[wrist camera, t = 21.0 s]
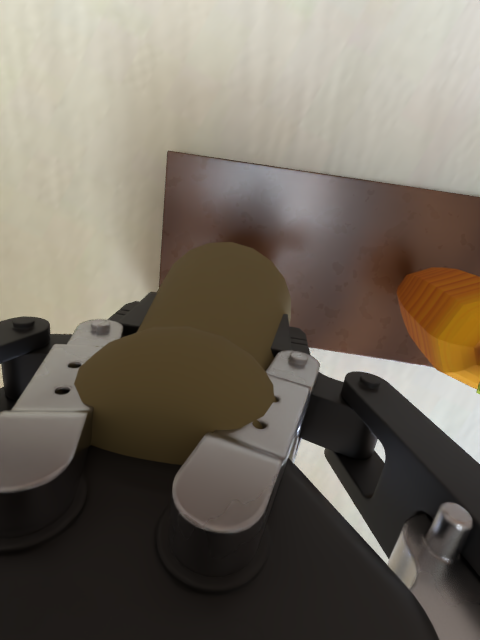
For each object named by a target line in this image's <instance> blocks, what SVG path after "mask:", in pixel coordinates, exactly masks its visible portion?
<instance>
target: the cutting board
mask: <svg viewBox="0 0 480 640" xmlns="http://www.w3.org/2000/svg"><path fill="white" fill-rule="evenodd" d="M217 242H233V243H237V244H240V245H243V246H247V247H250V248H253V249H255V250H256V251H258V252H259V253H261V254H262V255H263V256H265V257H266V258H268V259H269V260H271V261H272V262H273V264H274V265H275V266H276V268H277V269H278V270H279V272H280V273H281V274H282V276H283V277H284V278H285V281H286V284H287V287H288V290H289V293H290V296H291V320H290V324H289V326H290V327H296V328H300V329H301V330H302V331H303V332H304V333H305V334H306V338H307V342H308V347H310V348H317V349H323V350H329V351H335V352H341V353H348V354H354V355H360V356H366V357H372V358H379V359H385V360H391V361H397V362H403V363H409V364H416V365H422V366H428V367H433V365H432V364H431V363H430V362H429V360H428V359H427V358H426V357H425V355H424V354H423V353H422V352H421V350H420V349H419V348H418V346H417V345H416V344H415V342H414V341H413V339H412V338H411V337H410V335H409V333H408V331H407V328H406V326H405V324H404V321H403V318H402V315H401V311H400V306H399V302H398V297H397V288H398V286H399V285H400V283H401V282H402V280H403V279H404V278H405V276H406V275H408V274H411V273H414V272H418V271H421V270H425V269H428V268H431V267H437V268H451V269H458V270H461V271H464V272H467V273H470V274H473V275H476V276H479V277H480V197H476V196H469V195H463V194H456V193H449V192H442V191H436V190H429V189H422V188H416V187H409V186H402V185H395V184H389V183H382V182H375V181H368V180H362V179H355V178H348V177H342V176H335V175H328V174H321V173H315V172H308V171H301V170H294V169H288V168H281V167H274V166H267V165H261V164H254V163H247V162H241V161H234V160H227V159H220V158H214V157H207V156H200V155H193V154H187V153H180V152H173V151H168V152H167V165H166V181H165V197H164V214H163V230H162V246H161V262H160V278H159V288H160V286H161V284H162V282H163V280H164V278H165V277H166V275H167V273H168V272H169V270H170V269H171V267H172V265H173V264H174V263H175V262H176V261H177V260H178V259H179V258H181V257H182V256H183V255H184V254H186V253H187V252H188V251H189V250H191V249H194V248H197V247H200V246H202V245H205V244H208V243H217Z"/></svg>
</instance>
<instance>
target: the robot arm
mask: <svg viewBox="0 0 480 640" xmlns="http://www.w3.org/2000/svg"><path fill="white" fill-rule="evenodd" d="M156 294H157V293H155V292H150V293H149V294H148V295H147V296H146V297H145V298H143V299H142V300H141V301H140V302H138V301H135V302H132V303H128V304H126V305H124V306H123V307H122V308H121V309H120V310H118V311H117V312H116V313H115V314H113V315H112V316H111V317H110V318H109V319H107V320H104V319H97V320H89V321H85V322H82V323H80V324H79V325H78V326H77V328H76V329H75V331H74V333H73V334H50V324H49V322H48V321H47V320H45V319H42V318H37V317H17V318H11V319H8V320H4V321H1V322H0V364H2V373H3V383H4V387H2V388H0V640H480V464H479V463H478V462H477V461H475V460H474V459H473V458H472V457H471V456H470V455H469V454H468V453H466V452H465V451H464V450H463V449H462V448H461V447H460V446H459V445H458V444H456V443H455V442H454V441H453V440H452V439H451V438H450V437H449V436H447V435H446V434H445V433H444V432H443V431H442V430H441V429H440V428H438V427H437V426H436V425H435V424H434V423H433V422H432V421H431V420H430V419H428V418H427V417H426V416H425V415H424V414H423V413H422V412H421V411H419V410H418V409H417V408H416V407H415V406H414V405H413V404H412V403H410V402H409V401H408V400H407V399H406V398H405V397H404V396H403V395H402V394H400V393H399V392H398V391H397V390H396V389H395V388H394V387H393V386H391V385H390V384H389V383H388V382H387V381H385V380H384V379H382V378H380V377H378V376H375V375H373V374H369V373H365V372H350V373H348V374H347V375H346V376H345V380H344V382H341V381H338V380H335V379H332V378H329V377H327V376H325V375H323V374H321V373H320V372H318V371H319V367H320V364H319V362H318V361H317V359H315V358H314V357H312V356H310V352H309V347H308V342H307V338H306V334H305V333H304V332H303V331H302V330H301V329H300V328H296V327H290V326H289V320H288V314H283V316H282V319H281V322H280V324H279V327H278V330H277V332H276V335H275V338H274V341H273V343H272V346H271V351H272V354H273V356H274V359H273V361H272V363H271V364H270V366H269V367H268V369H267V370H266V373H267V375H268V377H269V379H270V380H271V382H272V383H273V386H274V396H275V398H276V399H277V401H278V402H275V403H274V402H273V403H272V405H271V406H270V408H269V409H268V411H267V412H266V414H265V415H264V416H263V417H261V418H259V419H257V420H258V421H259V422H260V424H261V425H262V427H263V429H258V428H255V427H254V426H253V424H252V423H253V422H251V423H249V424H248V425H246V426H244V427H242V428H240V429H233V430H215V431H214V432H213V433H211V432H208V433H206V434H205V435H204V437H203V438H202V439H201V441H200V442H199V443H198V445H197V446H196V447H195V449H194V450H193V452H192V453H191V454H190V456H189V457H188V458H187V460H186V461H185V462H184V464H183V465H178V464H169V463H163V462H157V461H150V460H145V459H140V458H135V457H130V456H126V455H122V454H118V453H114V452H111V451H108V450H104V449H101V448H98V447H95V446H92V445H90V444H91V440H92V421H93V411H94V407H93V406H90V405H88V404H85V403H83V402H82V401H81V399H80V396H79V394H78V392H77V389H76V387H75V385H74V382H75V379H76V376H77V373H78V370H79V367H80V366H82V365H83V364H84V363H85V362H86V361H87V360H88V359H89V358H90V357H92V356H93V355H94V354H95V353H96V352H98V351H99V350H100V349H101V348H103V347H104V346H105V345H106V344H108V343H109V342H111V341H114V340H117V339H120V338H122V337H125V336H128V335H131V334H134V333H136V332H137V331H138V329H139V327H140V325H141V324H142V322H143V320H144V318H145V316H146V314H147V312H148V310H149V308H150V306H151V304H152V302H153V300H154V298H155V296H156ZM301 439H304V440H307V441H309V442H312V443H314V444H317V445H319V446H322V447H324V448H325V451H324V454H325V457H326V459H327V461H328V462H329V464H330V465H331V467H332V469H333V470H334V472H335V474H336V475H337V477H338V478H339V480H340V482H341V483H342V485H343V486H344V488H345V490H346V491H347V493H348V494H349V496H350V498H351V499H352V501H353V502H354V504H355V506H356V507H357V509H358V510H359V512H360V514H361V515H362V517H363V519H364V520H365V522H366V523H367V525H368V527H369V528H370V530H371V531H372V533H373V535H374V536H375V538H376V539H377V541H378V543H379V544H380V546H381V547H382V549H383V551H384V552H385V554H386V555H387V557H388V559H389V562H388V565H387V564H386V563H385V562H384V561H383V560H382V559H381V558H380V557H379V555H378V554H377V553H376V552H375V551H374V550H373V549H372V548H371V547H370V546H369V545H368V544H367V542H366V541H365V540H364V539H363V538H362V537H361V536H360V535H359V534H358V533H357V532H356V530H355V529H354V528H353V527H352V526H351V525H350V524H349V523H348V522H347V521H346V520H345V519H344V517H343V516H342V515H341V514H340V513H339V512H338V511H337V510H336V509H335V508H334V507H333V505H332V504H331V503H330V502H329V501H328V500H327V499H326V498H325V497H324V496H323V495H322V494H321V492H320V491H319V490H318V489H317V488H316V487H315V486H314V485H313V484H312V483H311V482H310V480H309V479H308V478H307V477H306V476H305V475H304V474H303V473H302V472H301V471H300V470H299V468H298V467H297V466H296V465H295V464H294V461H295V458H296V455H297V452H298V449H299V445H300V442H301ZM377 439H379V441H380V442H381V443H382V445H383V447H384V450H385V455H386V460H385V463H384V462H383V461H382V459H381V458H380V457H379V456H378V454H377V453H376V452H375V451H374V448H375V445H376V442H377ZM292 446H293V451H292V461H291V460H290V459H289V458H288V457H289V454H290V451H291V448H292Z"/></svg>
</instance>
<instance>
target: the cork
mask: <svg viewBox="0 0 480 640" xmlns="http://www.w3.org/2000/svg"><path fill="white" fill-rule="evenodd" d="M283 314H288V320H289V324H290V320H291V296H290V293H289V290H288V287H287V284H286V281H285V278H284V277H283V276H282V274H281V273H280V272H279V270H278V269H277V268H276V266H275V265H274V264H273V262H272V261H271V260H269V259H268V258H266V257H265V256H263V255H262V254H261V253H259V252H258V251H256V250H255V249H253V248H250V247H247V246H243V245H240V244H237V243H233V242H217V243H208V244H205V245H202V246H200V247H197V248H194V249H191V250H189V251H188V252H187V253H186V254H184V255H183V256H182V257H181V258H179V259H178V260H177V261H176V262H175V263H174V264H173V265H172V267H171V269H170V270H169V272H168V273H167V275H166V277H165V278H164V280H163V282H162V284H161V286H160V288H159V290H158V291H157V294H156V296H155V298H154V300H153V302H152V304H151V306H150V308H149V310H148V312H147V314H146V316H145V318H144V320H143V322H142V324H141V325H140V327H139V329H138V331H137V332H136V333H134V334H131V335H128V336H125V337H122V338H120V339H117V340H114V341H111V342H109V343H108V344H106V345H105V346H104V347H103V348H101V349H100V350H99V351H98V352H96V353H95V354H94V355H93V356H92V357H90V358H89V359H88V360H87V361H86V362H85V363H84V364H83V365H82V366H80V367H79V370H78V373H77V376H76V379H75V382H74V385H75V387H76V389H77V392H78V394H79V396H80V399H81V401H82V402H83V403H85V404H88V405H90V406H93V407H94V411H93V421H92V440H91V444H90V445H92V446H95V447H98V448H101V449H104V450H108V451H111V452H114V453H118V454H122V455H126V456H130V457H135V458H140V459H145V460H150V461H157V462H163V463H169V464H178V465H183V464H184V462H185V461H186V460H187V458H188V457H189V456H190V454H191V453H192V452H193V450H194V449H195V447H196V446H197V445H198V443H199V442H200V441H201V439H202V438H203V437H204V435H205V434H206V433H208V432H211V433H213V432H214V431H215V430H233V429H240V428H242V427H244V426H246V425H248V424H249V423H251V422H253V423H252V424H253V426H254V427H255V428H258V429H263V427H262V425H261V424H260V422H259V421H258V420H257V419H259V418H261V417H263V416H264V415H265V414H266V412H267V411H268V409H269V408H270V406H271V405H272V403H273V402H274V403H275V402H278V401H277V399H276V398H275V396H274V386H273V383H272V382H271V380H270V379H269V377H268V375H267V373H266V370H267V369H268V367H269V366H270V364H271V363H272V361H273V359H274V356H273V354H272V351H271V346H272V343H273V341H274V338H275V335H276V332H277V330H278V327H279V324H280V322H281V319H282V316H283ZM292 451H293V446H292V448H291V451H290V454H289V457H288V458H289V459H290V460H291V461H292Z"/></svg>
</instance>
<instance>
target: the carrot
mask: <svg viewBox="0 0 480 640" xmlns="http://www.w3.org/2000/svg"><path fill="white" fill-rule="evenodd" d="M397 297H398V302H399V306H400V311H401V315H402V318H403V321H404V324H405V326H406V328H407V331H408V333H409V335H410V337H411V338H412V339H413V341H414V342H415V344H416V345H417V346H418V348H419V349H420V350H421V352H422V353H423V354H424V355H425V357H426V358H427V359H428V360H429V362H430V363H431V364H432V365H433V367H434V368H436V369H437V370H438V371H440V372H442V373H444V374H446V375H448V376H450V377H452V378H454V379H456V380H458V381H460V382H463V383H465V384H467V385H469V386H471V387H473V388H475V389H477V392H476V393H478V394H480V277H479V276H476V275H473V274H470V273H467V272H464V271H461V270H458V269H451V268H437V267H431V268H428V269H425V270H421V271H418V272H414V273H411V274H408V275H406V276H405V278H404V279H403V280H402V282H401V283H400V285H399V286H398V288H397Z"/></svg>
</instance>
